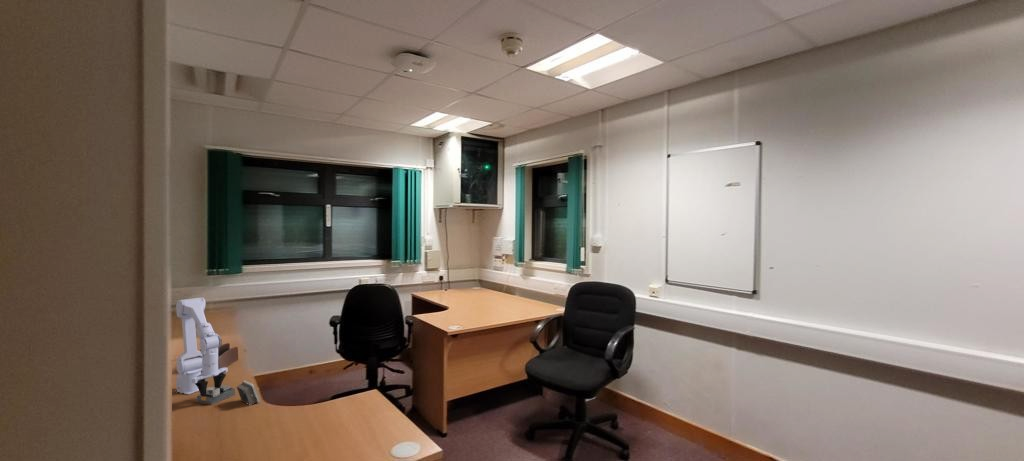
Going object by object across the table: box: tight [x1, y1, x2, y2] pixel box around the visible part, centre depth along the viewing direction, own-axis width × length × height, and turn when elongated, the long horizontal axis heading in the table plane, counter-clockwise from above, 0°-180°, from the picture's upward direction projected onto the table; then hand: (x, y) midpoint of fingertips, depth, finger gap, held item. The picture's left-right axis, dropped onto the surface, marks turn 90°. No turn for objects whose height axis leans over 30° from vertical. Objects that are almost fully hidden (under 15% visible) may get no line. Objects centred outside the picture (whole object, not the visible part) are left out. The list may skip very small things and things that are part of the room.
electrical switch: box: [236, 380, 260, 406], centre depth 176 cm, size 9×5×9 cm, turn 57°
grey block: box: [206, 386, 220, 397], centre depth 177 cm, size 6×3×5 cm, turn 73°
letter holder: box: [199, 338, 239, 373], centre depth 222 cm, size 10×20×14 cm, turn 9°
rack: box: [196, 384, 236, 406], centre depth 180 cm, size 9×11×4 cm
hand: (210, 393), depth 177 cm, fingers open, 6 cm apart
